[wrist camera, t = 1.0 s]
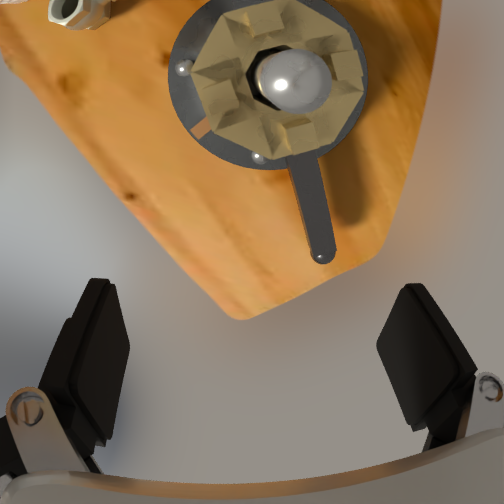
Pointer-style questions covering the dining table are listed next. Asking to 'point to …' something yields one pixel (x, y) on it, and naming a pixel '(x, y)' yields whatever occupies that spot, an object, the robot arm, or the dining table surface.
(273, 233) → the dining table surface
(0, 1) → the white cup
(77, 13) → the valve
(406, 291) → the robot arm
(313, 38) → the castle nut fixture
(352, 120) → the cap plate
